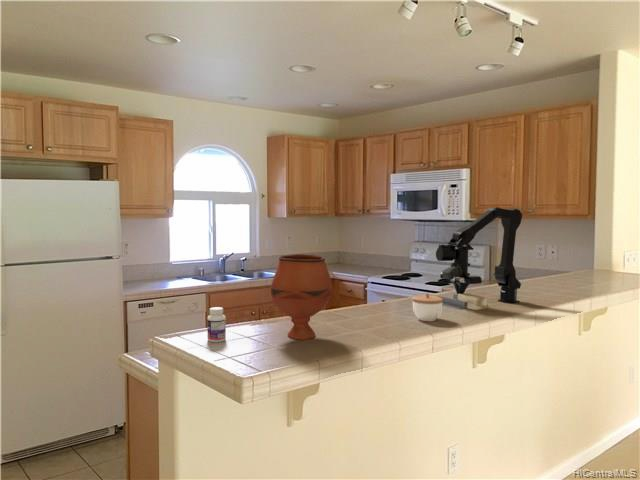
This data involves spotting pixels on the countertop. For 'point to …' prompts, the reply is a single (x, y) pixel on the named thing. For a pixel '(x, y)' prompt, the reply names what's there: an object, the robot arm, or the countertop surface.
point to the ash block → (473, 300)
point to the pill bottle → (216, 325)
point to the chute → (454, 302)
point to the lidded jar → (427, 307)
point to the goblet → (301, 290)
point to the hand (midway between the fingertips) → (459, 297)
